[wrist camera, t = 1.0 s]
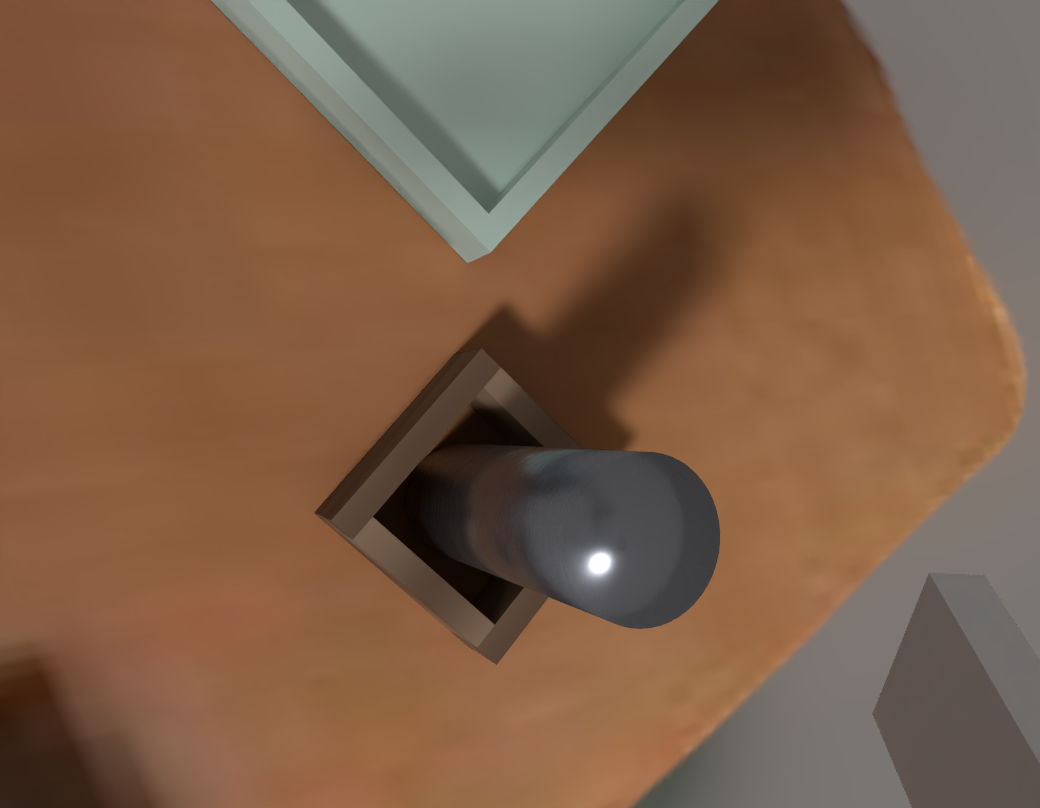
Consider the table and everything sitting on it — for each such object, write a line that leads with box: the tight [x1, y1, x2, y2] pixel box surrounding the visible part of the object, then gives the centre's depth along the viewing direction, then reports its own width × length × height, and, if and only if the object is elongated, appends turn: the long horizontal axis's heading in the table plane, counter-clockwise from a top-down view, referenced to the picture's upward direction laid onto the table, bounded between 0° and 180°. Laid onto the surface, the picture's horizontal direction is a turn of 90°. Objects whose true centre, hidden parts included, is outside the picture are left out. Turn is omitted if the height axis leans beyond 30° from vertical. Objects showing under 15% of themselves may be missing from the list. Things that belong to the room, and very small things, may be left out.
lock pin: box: [406, 443, 720, 629], centre depth 30 cm, size 4×4×14 cm
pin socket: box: [315, 348, 582, 664], centre depth 35 cm, size 8×8×3 cm
